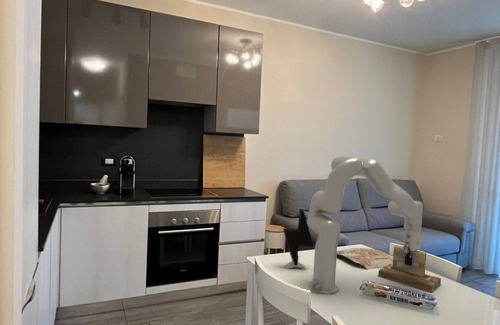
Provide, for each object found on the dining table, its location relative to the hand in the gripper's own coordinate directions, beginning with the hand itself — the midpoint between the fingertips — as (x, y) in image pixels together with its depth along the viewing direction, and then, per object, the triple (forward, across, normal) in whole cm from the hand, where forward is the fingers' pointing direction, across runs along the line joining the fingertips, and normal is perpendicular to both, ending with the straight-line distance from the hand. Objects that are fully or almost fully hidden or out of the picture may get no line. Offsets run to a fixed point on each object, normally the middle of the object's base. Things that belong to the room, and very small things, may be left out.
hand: (409, 263), depth 161 cm
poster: (+9, +12, +28) cm, 32 cm away
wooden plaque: (+4, 0, 0) cm, 4 cm away
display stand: (+8, 0, 0) cm, 8 cm away
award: (+8, -30, +45) cm, 55 cm away
